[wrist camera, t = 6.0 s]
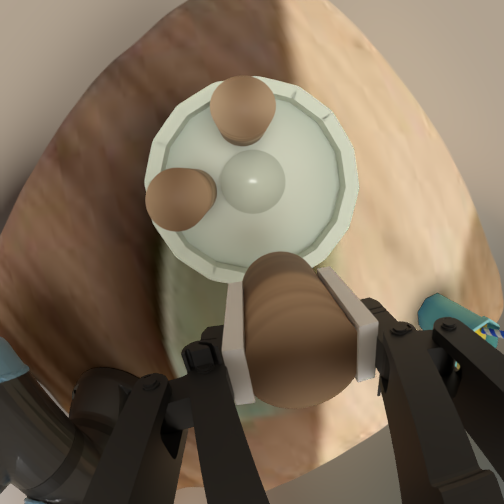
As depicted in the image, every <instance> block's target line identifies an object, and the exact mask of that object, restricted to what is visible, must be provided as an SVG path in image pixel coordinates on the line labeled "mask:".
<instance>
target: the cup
mask: <svg viewBox="0 0 504 504" xmlns="http://www.w3.org/2000/svg"><path fill="white" fill-rule="evenodd" d="M443 317H452V318H456V319H458V320H460V321H461V322H463V323H464V324H465V325H467V326H468V327H469V328H470V329H472V330H473V331H474V332H476V333H477V334H478V335H479V336H481V337H482V338H483V339H485V340H486V341H487V342H488V343H490V344H491V345H492V346H493V347H495V348H496V347H497V343H498V338H503V339H504V331H500V330H499V328H500V325H498V324H497V323H495V322H494V321H492V320H491V319H489V318H487V317H485V316H483V317H480V316H478V315H477V314H475V313H473V312H471V311H470V310H468V309H466V308H464V307H462V306H461V305H459V304H457V303H455V302H453V301H451V300H450V299H448V298H446V297H444V296H442V295H440V294H438V293H436V294H434V295H432V296H431V297H429V298H427V299H425V301H424V303H423V304H422V306H421V308H420V310H419V311H418V321H419V326H420V327H421V328H422V329H423V330H433V324H434V322H435V321H436V320H437V319H439V318H443ZM455 367H456V368H457V369H459V368H460V365H459V364H458V363H457V362H456V363H455Z"/></svg>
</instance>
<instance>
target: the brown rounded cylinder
mask: <svg viewBox="0 0 504 504" xmlns="http://www.w3.org/2000/svg"><path fill="white" fill-rule="evenodd" d="M216 197H217V187H216V184H215V181H214V180H213V178H212V177H211V176H210V175H209V174H208V173H207V172H205V171H203V170H200V169H191V168H169V169H166V170H164V171H162V172H160V173H159V174H157V175H156V176H155V177H154V178H153V179H152V181H151V182H150V184H149V186H148V188H147V192H146V198H145V201H146V208H147V211H148V213H149V215H150V217H151V219H152V220H153V221H154V222H155V223H156V224H157V225H158V226H160V227H161V228H163V229H165V230H168V231H174V232H179V231H185V230H188V229H190V228H192V227H194V226H195V225H196V224H197V223H198V222H199V221H200V220H201V219H202V218H203V217H204V215H205V214H206V213H207V212H208V211H209V210H210V209H211V207H212V206H213V205H214V203H215V201H216Z"/></svg>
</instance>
